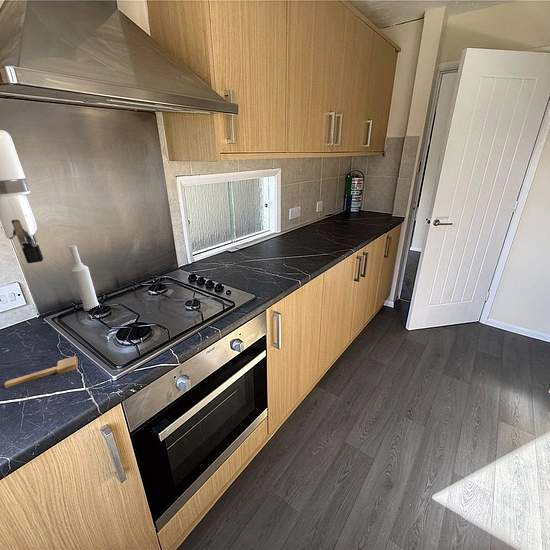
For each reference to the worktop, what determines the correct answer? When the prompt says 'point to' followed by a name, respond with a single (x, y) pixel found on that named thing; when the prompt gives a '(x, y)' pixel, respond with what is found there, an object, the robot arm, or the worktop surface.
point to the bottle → (83, 281)
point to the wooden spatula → (47, 371)
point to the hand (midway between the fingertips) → (35, 261)
